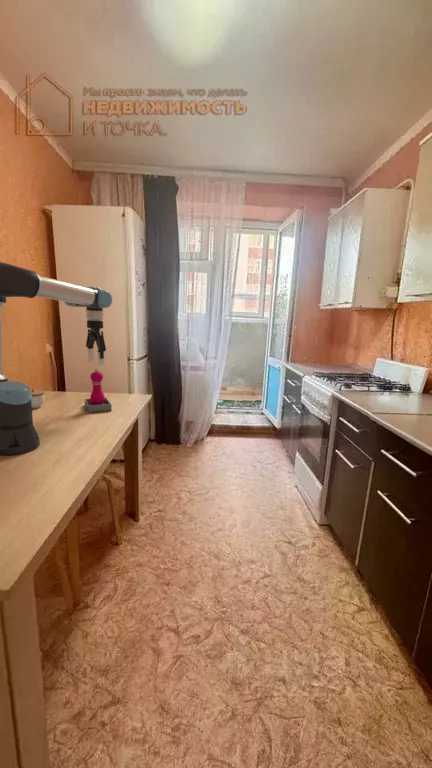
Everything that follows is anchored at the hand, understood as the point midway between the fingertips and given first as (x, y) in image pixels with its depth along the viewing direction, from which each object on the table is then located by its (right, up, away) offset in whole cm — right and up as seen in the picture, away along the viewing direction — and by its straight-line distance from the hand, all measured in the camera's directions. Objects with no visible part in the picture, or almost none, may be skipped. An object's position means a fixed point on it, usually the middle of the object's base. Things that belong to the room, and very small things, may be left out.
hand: (95, 363), depth 171 cm
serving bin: (-1, -23, +5) cm, 23 cm away
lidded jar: (-33, -22, +3) cm, 39 cm away
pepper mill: (-1, -22, +5) cm, 23 cm away
